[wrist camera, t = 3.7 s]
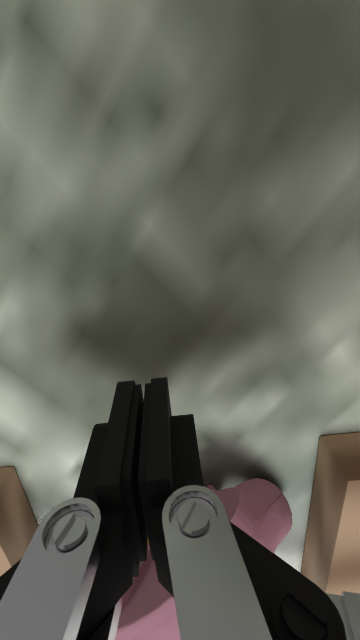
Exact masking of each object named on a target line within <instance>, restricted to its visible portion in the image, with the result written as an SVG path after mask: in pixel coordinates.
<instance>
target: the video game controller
mask: <svg viewBox="0 0 360 640" xmlns="http://www.w3.org/2000/svg"><path fill="white" fill-rule="evenodd" d="M205 487H206V488H208V489H210V490H212V491H213V492H214V493H215V494H216V495H217V496H218V497H219V498H220V500H221V502H222V504H223V506H224V508H225V511H226V514H227V517H228V519H229V521H230V522H232V523H233V524H234V525H236V526H237V527H238V528H240V529H241V530H243V531H244V532H245V533H247V534H248V535H249V536H251V537H252V538H253V539H255V540H256V541H257V542H259V543H260V544H262V545H263V546H264V547H266V548H267V549H268V550H270V551H271V552H272V553H274V552H275V550H276V548H277V546H278V544H279V543H280V542H281V541H282V540H283V539H284V538H285V536H286V535H287V534H288V532H289V531H290V529H291V526H292V513H291V510H290V507H289V504H288V502H287V500H286V498H285V496H284V495H283V493H282V491H281V490H280V489H279V488H278V487H277V486H276V485H274V484H273V483H271V482H270V481H267V480H265V479H260V478H254V479H250V480H247V481H245V482H243V483H241V484H239V485H237V486H235V487H234V488H233V487H231V488H226V489H223V490H216V489H215V488H214V486H212V485H207V486H205ZM115 640H181V639H180V632H179V626H178V620H177V613H176V607H175V600H174V598H173V597H172V595H171V594H170V593H169V592H168V591H167V590H166V589H165V588H164V587H163V586H162V585H161V584H160V583H159V582H158V577H157V572H156V566H155V561H154V560H152V556H151V551H150V546H149V541H148V545H147V560H146V561H144V562H140V567H139V577H133V584H132V585H131V587H130V588H129V589H128V590H127V591H126V593H125V594H124V595H123V596H122V608H121V613H120V618H119V622H118V627H117V632H116V637H115Z"/></svg>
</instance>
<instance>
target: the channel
mask: <svg viewBox="0 0 360 640" xmlns="http://www.w3.org/2000/svg"><path fill="white" fill-rule="evenodd" d="M37 528H38V524H37V521H36V519H35V516H34V514H33V512H32V509H31V507H30V504H29V502H28V500H27V497H26V495H25V492H24V490H23V488H22V485H21V483H20V480H19V478H18V476H17V473H16V471H15V468H14V466H12V467H2V468H0V576H2V575H3V574H4V573H5V572H6V571H7V570H9V569H10V568H11V567H12V566H13V565H14V564H16V563H17V562H18V561H19V560H20V559H21V558H22V557H23V555H24V553H25V551H26V550H27V548H28V546H29V544H30V542H31V540H32V538H33V536H34V534H35V532H36V530H37ZM301 574H302V575H304V576H305V577H306V578H308V579H309V580H311V581H312V582H313V583H315V584H316V585H317V586H318V587H319V588H320V589H322V590H323V591H324V592H325V593H329V594H335V595H342V591H347V592H353V593H359V594H360V432H357V433H347V434H337V435H326V436H320V439H319V446H318V454H317V461H316V468H315V475H314V482H313V489H312V497H311V504H310V511H309V518H308V525H307V532H306V539H305V547H304V554H303V561H302V568H301Z"/></svg>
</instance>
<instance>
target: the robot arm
mask: <svg viewBox="0 0 360 640" xmlns="http://www.w3.org/2000/svg"><path fill="white" fill-rule="evenodd" d="M148 541H149V546H150V551H151V556H152V560H154V561H155V566H156V572H157V577H158V582H159V583H160V584H161V585H162V586H163V587H164V588H165V589H166V590H167V591H168V592H169V593H170V594H171V595H172V597H173V598H174V600H175V607H176V613H177V620H178V626H179V632H180V639H181V640H360V594H359V593H353V592H347V591H342V595H335V594H329V593H325V592H324V591H323V590H322V589H320V588H319V587H318V586H317V585H316V584H315V583H313V582H312V581H311V580H309V579H308V578H306V577H305V576H304V575H302V574H301V573H300V572H298V571H297V570H296V569H294V568H293V567H292V566H290V565H289V564H287V563H286V562H285V561H283V560H282V559H281V558H279V557H278V556H277V555H275V554H274V553H272V552H271V551H270V550H268V549H267V548H266V547H264V546H263V545H262V544H260V543H259V542H257V541H256V540H255V539H253V538H252V537H251V536H249V535H248V534H247V533H245V532H244V531H243V530H241V529H240V528H238V527H237V526H236V525H234V524H233V523H232V522H230V521H229V519H228V517H227V514H226V511H225V508H224V506H223V504H222V502H221V500H220V498H219V497H218V496H217V495H216V494H215V493H214V492H213V491H212V490H210V489H208V488H206V487H204V485H203V478H202V472H201V465H200V458H199V451H198V444H197V438H196V431H195V424H194V417H193V414H189V415H179V416H171V407H170V398H169V389H168V381H167V377H164V378H154V379H151V383H147V384H145V392H144V400H143V394H142V388H141V384H138V385H135V381H125V382H118V383H117V387H116V391H115V396H114V400H113V404H112V409H111V413H110V418H109V422H108V423H103V424H96V425H95V426H94V428H93V431H92V435H91V438H90V442H89V445H88V449H87V452H86V456H85V459H84V463H83V466H82V470H81V473H80V477H79V480H78V484H77V487H76V491H75V494H74V498H72V499H69V500H66V501H64V502H62V503H60V504H59V505H57V506H55V507H54V508H53V509H52V510H51V511H50V512H49V513H48V514H47V515H46V516H45V517H44V518H43V520H42V521H41V523H40V524H39V526H38V528H37V530H36V532H35V534H34V536H33V538H32V540H31V542H30V544H29V546H28V548H27V550H26V551H25V553H24V555H23V557H22V558H21V559H20V560H19V561H18V562H17V563H16V564H14V565H13V566H12V567H11V568H10V569H9V570H7V571H6V572H5V573H4V574H3V575H2V576H0V640H115V637H116V632H117V627H118V622H119V618H120V613H121V608H122V596H123V595H124V594H125V593H126V591H127V590H128V589H129V588H130V587H131V585H132V584H133V577H139V567H140V562H144V561H146V560H147V545H148Z"/></svg>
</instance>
